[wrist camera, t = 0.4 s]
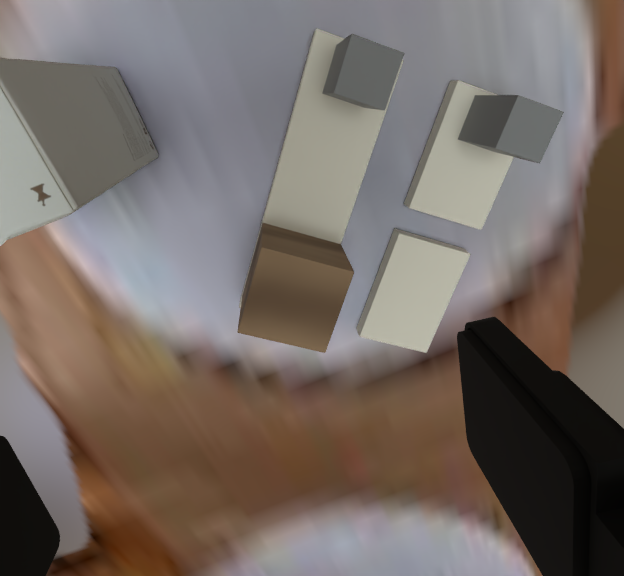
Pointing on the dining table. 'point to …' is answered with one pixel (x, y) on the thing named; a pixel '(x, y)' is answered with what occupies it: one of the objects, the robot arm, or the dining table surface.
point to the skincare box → (63, 140)
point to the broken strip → (451, 206)
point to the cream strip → (331, 135)
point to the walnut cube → (294, 288)
